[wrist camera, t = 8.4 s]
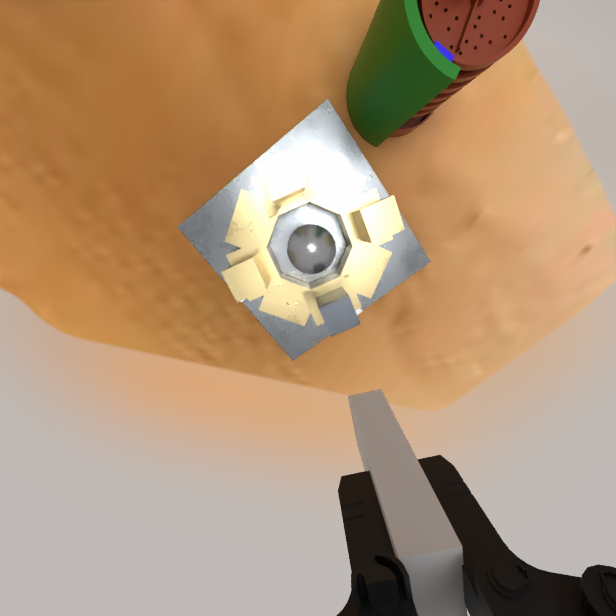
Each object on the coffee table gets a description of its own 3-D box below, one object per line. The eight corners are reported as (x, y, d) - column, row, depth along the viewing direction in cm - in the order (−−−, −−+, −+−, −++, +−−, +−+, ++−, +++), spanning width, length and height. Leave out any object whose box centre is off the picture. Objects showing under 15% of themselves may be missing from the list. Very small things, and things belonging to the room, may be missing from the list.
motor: (401, 161, 32) (560, 70, 13) (329, 119, 31) (387, -54, 12) (453, 63, 30) (739, -224, 11) (377, 12, 28) (550, -425, 9)
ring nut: (273, 335, 35) (268, 362, 28) (207, 204, 31) (182, 198, 24) (399, 281, 34) (426, 296, 27) (350, 138, 30) (367, 112, 23)
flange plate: (182, 226, 33) (148, 227, 25) (326, 104, 30) (337, 64, 23) (292, 355, 38) (292, 389, 30) (425, 259, 35) (461, 270, 28)
